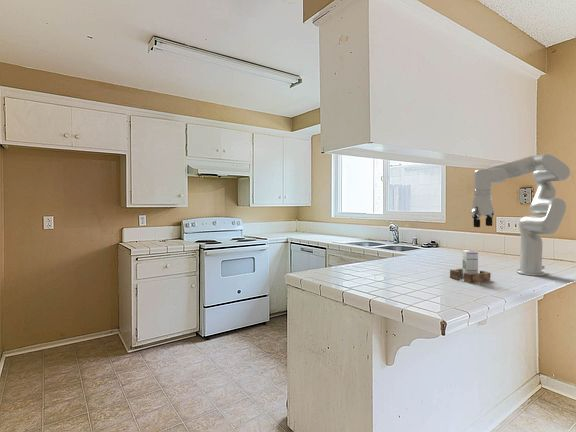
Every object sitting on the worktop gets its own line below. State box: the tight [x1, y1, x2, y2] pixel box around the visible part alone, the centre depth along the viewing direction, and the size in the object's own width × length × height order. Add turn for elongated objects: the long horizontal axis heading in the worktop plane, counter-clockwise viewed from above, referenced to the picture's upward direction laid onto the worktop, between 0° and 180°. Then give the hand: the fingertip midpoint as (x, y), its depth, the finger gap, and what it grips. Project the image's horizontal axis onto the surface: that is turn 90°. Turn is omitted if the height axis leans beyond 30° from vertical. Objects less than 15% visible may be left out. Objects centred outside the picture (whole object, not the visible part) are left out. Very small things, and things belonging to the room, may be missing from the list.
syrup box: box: [462, 249, 479, 279], centre depth 167 cm, size 6×6×14 cm
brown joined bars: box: [449, 267, 491, 284], centre depth 167 cm, size 14×14×4 cm
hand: (483, 226), depth 170 cm, fingers open, 9 cm apart
